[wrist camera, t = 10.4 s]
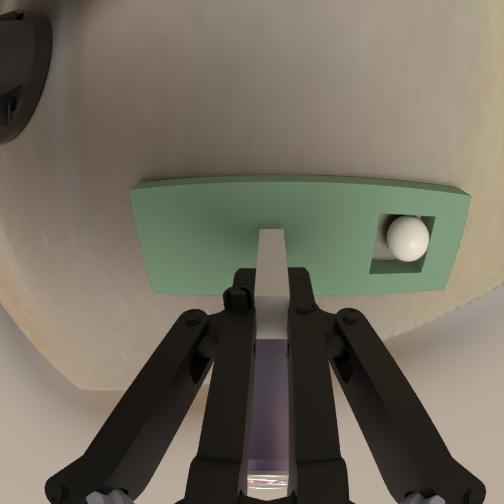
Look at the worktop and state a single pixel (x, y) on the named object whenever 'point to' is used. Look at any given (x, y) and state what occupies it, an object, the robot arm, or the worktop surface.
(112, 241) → the worktop surface
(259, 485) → the beverage can
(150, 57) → the worktop surface
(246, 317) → the robot arm
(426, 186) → the green rectangular board
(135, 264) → the worktop surface
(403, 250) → the white ball
